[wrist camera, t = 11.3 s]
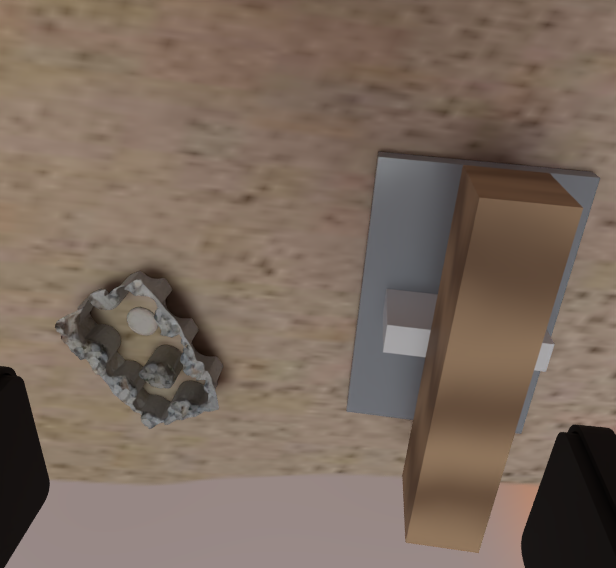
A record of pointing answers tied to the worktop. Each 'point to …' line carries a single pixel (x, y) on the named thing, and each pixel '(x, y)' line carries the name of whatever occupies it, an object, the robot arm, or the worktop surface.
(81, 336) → the egg carton
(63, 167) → the worktop surface
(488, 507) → the beam
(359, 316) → the fulcrum board
